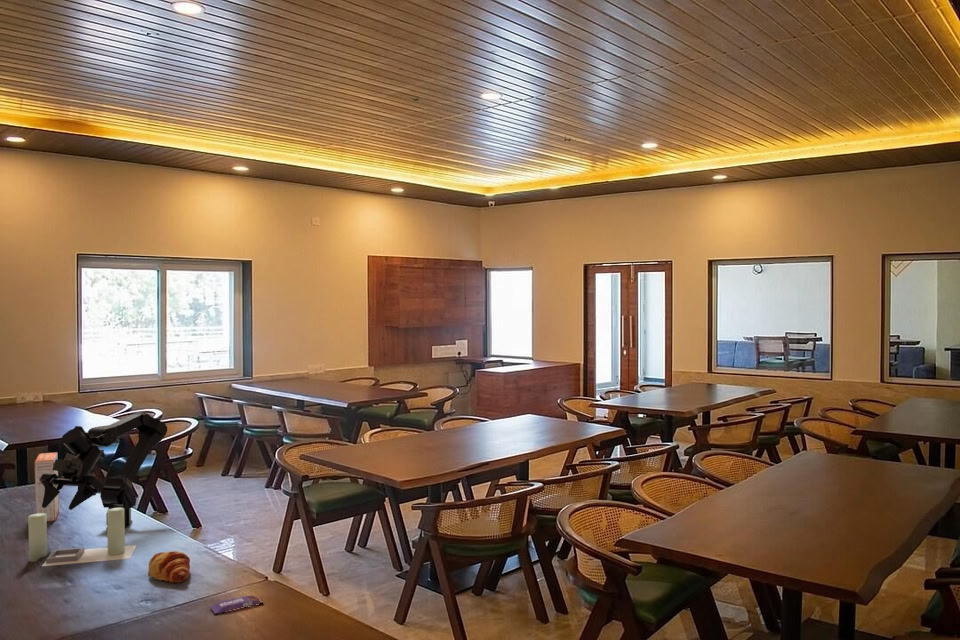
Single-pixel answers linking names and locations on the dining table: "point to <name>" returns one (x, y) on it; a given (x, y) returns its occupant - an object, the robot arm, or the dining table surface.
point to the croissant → (169, 566)
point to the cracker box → (43, 466)
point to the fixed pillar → (115, 531)
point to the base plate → (85, 555)
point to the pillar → (37, 536)
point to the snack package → (235, 604)
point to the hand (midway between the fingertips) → (56, 508)
